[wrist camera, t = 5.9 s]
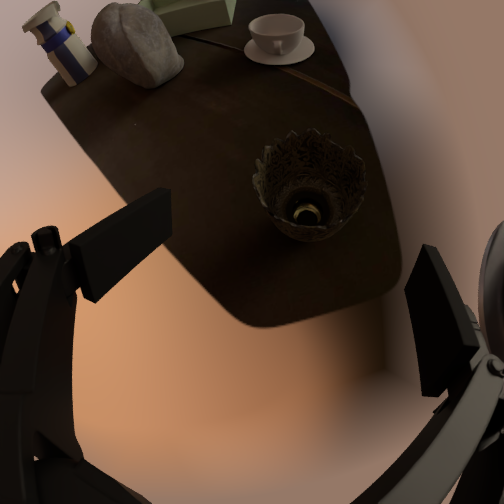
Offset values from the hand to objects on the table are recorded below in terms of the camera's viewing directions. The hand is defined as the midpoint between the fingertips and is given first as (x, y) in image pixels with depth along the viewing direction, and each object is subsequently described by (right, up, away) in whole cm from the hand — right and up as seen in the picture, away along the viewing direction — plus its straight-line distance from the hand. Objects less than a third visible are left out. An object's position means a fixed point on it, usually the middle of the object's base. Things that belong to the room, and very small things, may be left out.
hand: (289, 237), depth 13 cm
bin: (-15, +48, +27) cm, 57 cm away
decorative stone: (-17, +26, +21) cm, 37 cm away
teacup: (+2, +28, +19) cm, 34 cm away
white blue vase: (-36, +36, +27) cm, 58 cm away
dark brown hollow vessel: (+3, +2, +11) cm, 12 cm away
